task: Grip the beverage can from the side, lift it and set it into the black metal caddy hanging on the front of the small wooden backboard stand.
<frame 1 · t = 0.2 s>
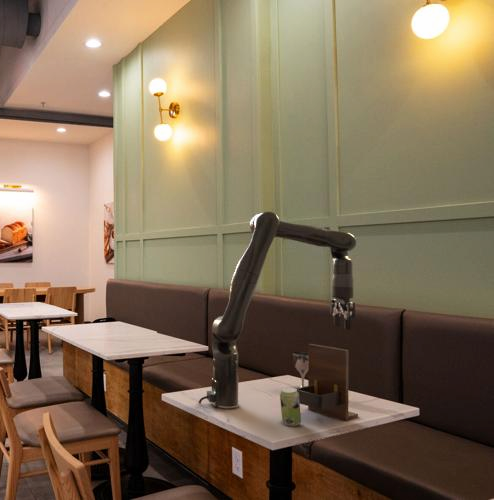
hand: (342, 328, 195), 29 cm above the table, tool pointing down, fingers open, 8 cm apart
wine glass: (302, 389, 218), on the table
wooden backboard stand: (316, 417, 178), on the table
beverage can: (290, 424, 170), on the table
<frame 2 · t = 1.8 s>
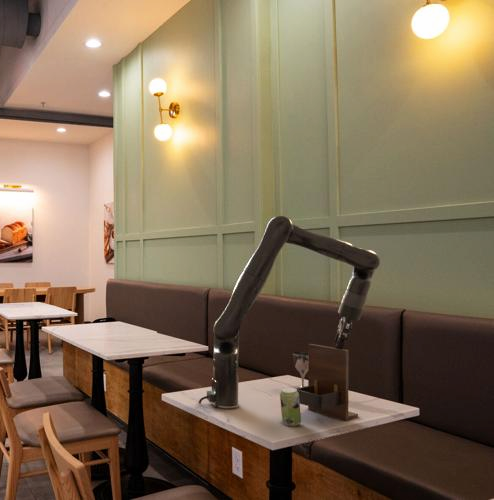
hand: (337, 346, 185), 24 cm above the table, tool tilted 20°, fingers open, 8 cm apart
nothing on the table moved.
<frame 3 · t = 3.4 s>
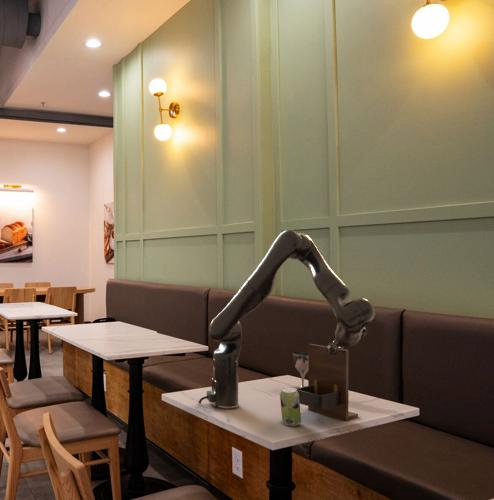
hand: (343, 346, 177), 25 cm above the table, tool tilted 65°, fingers open, 8 cm apart
nothing on the table moved.
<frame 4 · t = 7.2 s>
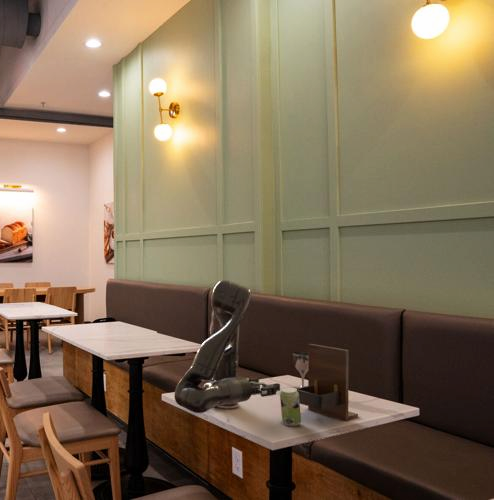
hand: (268, 384, 164), 15 cm above the table, tool horizontal, fingers open, 8 cm apart
nothing on the table moved.
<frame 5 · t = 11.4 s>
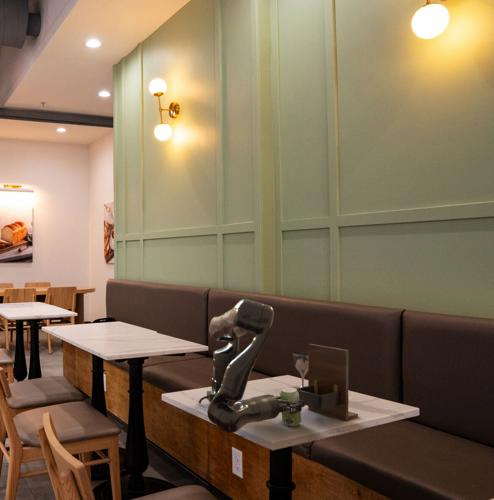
hand: (295, 400, 172), 8 cm above the table, tool horizontal, fingers closed on beverage can, 6 cm apart
beverage can: (290, 424, 170), on the table, touching gripper
everything else where it was.
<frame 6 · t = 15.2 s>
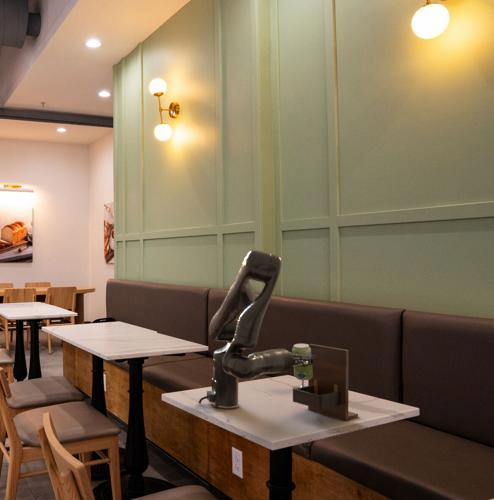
hand: (307, 356, 176), 22 cm above the table, tool horizontal, fingers closed on beverage can, 6 cm apart
beverage can: (302, 380, 174), point 14 cm above the table, touching gripper
everything else where it was.
when the fingers open (14 cm above the table, at t = 19.2 s): beverage can stays where it is, resting on wooden backboard stand.
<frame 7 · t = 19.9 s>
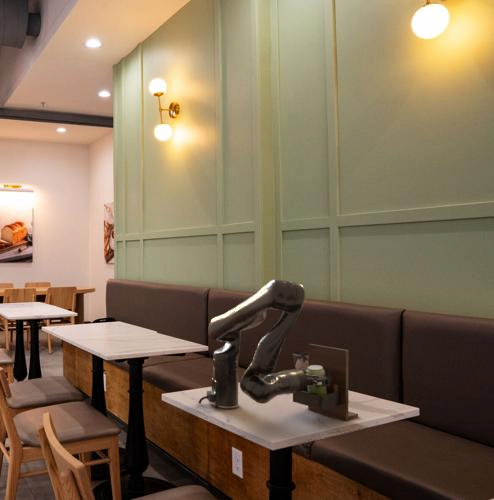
hand: (319, 376, 179), 14 cm above the table, tool horizontal, fingers open, 8 cm apart
beverage can: (316, 400, 178), point 6 cm above the table, touching wooden backboard stand
everything else where it was.
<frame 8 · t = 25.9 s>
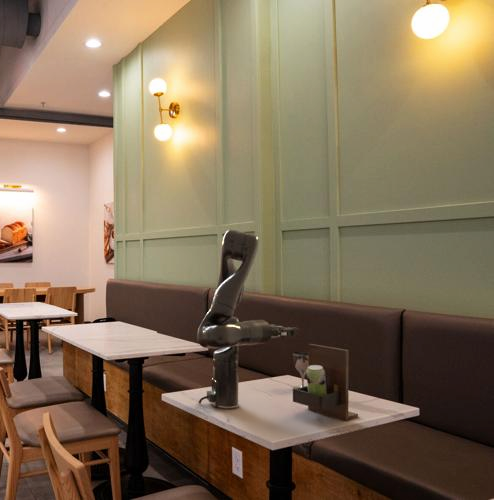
hand: (286, 329, 169), 32 cm above the table, tool horizontal, fingers open, 8 cm apart
nothing on the table moved.
at the end: beverage can 0.1 cm off-centre on the wooden backboard stand, point 5.8 cm above the wooden backboard stand's base; beverage can tilted 0°; the gripper is holding nothing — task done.
